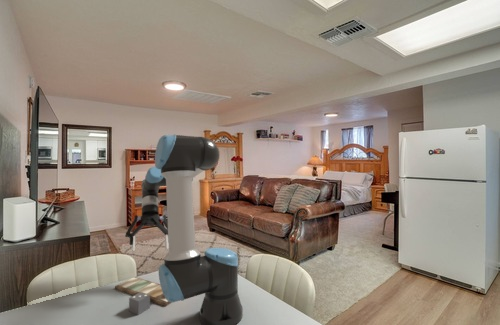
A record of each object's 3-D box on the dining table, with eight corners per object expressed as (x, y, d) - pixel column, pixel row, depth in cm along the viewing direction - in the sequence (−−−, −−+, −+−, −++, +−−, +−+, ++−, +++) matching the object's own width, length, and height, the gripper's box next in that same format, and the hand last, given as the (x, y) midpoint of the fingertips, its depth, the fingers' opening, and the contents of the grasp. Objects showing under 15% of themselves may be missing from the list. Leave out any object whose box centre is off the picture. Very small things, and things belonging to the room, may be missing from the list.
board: (184, 294, 104) (184, 291, 104) (165, 306, 95) (165, 302, 95) (135, 279, 118) (135, 276, 118) (115, 288, 109) (115, 285, 109)
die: (149, 308, 94) (149, 294, 95) (138, 315, 90) (138, 301, 90) (140, 304, 97) (140, 291, 97) (129, 311, 92) (129, 297, 92)
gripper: (174, 211, 129) (177, 251, 117) (120, 211, 117) (117, 256, 104) (178, 203, 124) (182, 245, 112) (122, 202, 112) (119, 249, 100)
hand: (150, 250), depth 108 cm, fingers open, 13 cm apart
